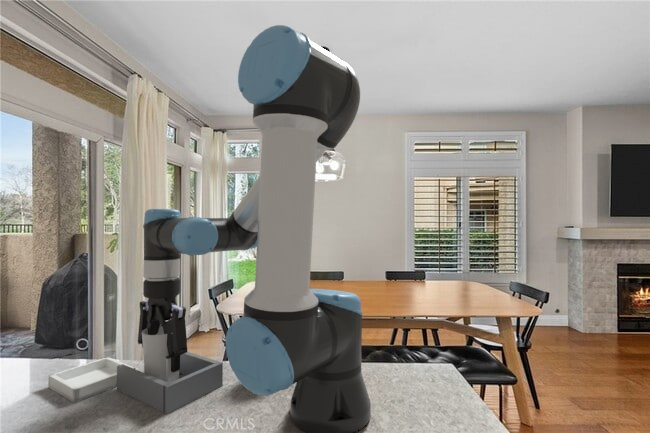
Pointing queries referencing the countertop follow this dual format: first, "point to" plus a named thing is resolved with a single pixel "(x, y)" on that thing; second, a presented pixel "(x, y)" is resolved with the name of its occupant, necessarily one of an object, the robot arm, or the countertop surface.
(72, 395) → the tray
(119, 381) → the box
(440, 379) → the countertop surface
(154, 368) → the cup
